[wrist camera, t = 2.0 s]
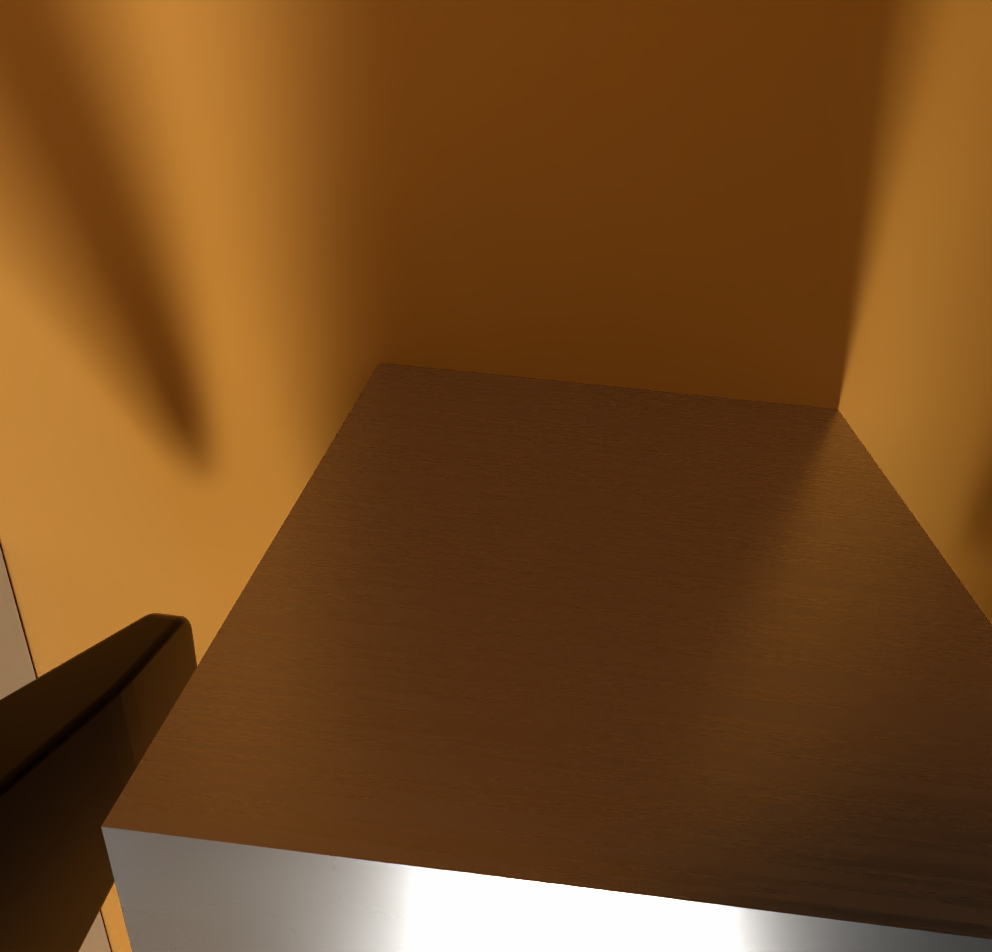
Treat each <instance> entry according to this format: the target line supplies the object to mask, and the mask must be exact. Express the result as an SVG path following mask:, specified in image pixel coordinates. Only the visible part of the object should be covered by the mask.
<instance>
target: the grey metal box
mask: <svg viewBox="0 0 992 952" xmlns="http://www.w3.org/2000/svg"><path fill="white" fill-rule="evenodd" d="M101 828H102V832H103V836H104V840H105V844H106V848H107V852H108V856H109V860H110V864H111V868H112V872H113V876H114V880H115V884H116V888H117V892H118V896H119V900H120V904H121V908H122V912H123V916H124V920H125V924H126V928H127V932H128V936H129V940H130V944H131V948H132V952H992V625H991V624H990V622H989V621H988V619H987V618H986V617H985V615H984V614H983V612H982V611H981V610H980V608H979V607H978V605H977V604H976V603H975V601H974V600H973V598H972V597H971V596H970V594H969V593H968V591H967V590H966V589H965V587H964V586H963V584H962V583H961V582H960V580H959V579H958V577H957V576H956V574H955V573H954V572H953V570H952V569H951V567H950V566H949V565H948V563H947V562H946V560H945V559H944V558H943V556H942V555H941V553H940V552H939V551H938V549H937V548H936V546H935V545H934V544H933V542H932V541H931V539H930V538H929V537H928V535H927V534H926V532H925V531H924V530H923V528H922V527H921V525H920V524H919V523H918V521H917V520H916V518H915V517H914V516H913V514H912V513H911V511H910V510H909V509H908V507H907V506H906V504H905V503H904V502H903V500H902V499H901V497H900V496H899V495H898V493H897V492H896V490H895V489H894V487H893V486H892V485H891V483H890V482H889V480H888V479H887V478H886V476H885V475H884V473H883V472H882V471H881V469H880V468H879V466H878V465H877V464H876V462H875V461H874V459H873V458H872V457H871V455H870V454H869V452H868V451H867V450H866V448H865V447H864V445H863V444H862V443H861V441H860V440H859V438H858V437H857V436H856V434H855V433H854V431H853V430H852V429H851V427H850V426H849V424H848V423H847V422H846V420H845V419H844V417H843V416H842V415H841V413H840V412H839V410H836V409H826V408H817V407H807V406H797V405H787V404H777V403H767V402H758V401H748V400H738V399H728V398H718V397H709V396H699V395H689V394H679V393H669V392H659V391H650V390H640V389H630V388H620V387H610V386H600V385H591V384H581V383H571V382H561V381H551V380H541V379H532V378H522V377H512V376H502V375H492V374H483V373H473V372H463V371H453V370H443V369H433V368H424V367H414V366H404V365H394V364H384V363H379V365H378V367H377V368H376V370H375V372H374V373H373V375H372V377H371V378H370V380H369V382H368V383H367V385H366V387H365V388H364V390H363V392H362V393H361V395H360V397H359V398H358V400H357V402H356V403H355V405H354V407H353V408H352V410H351V412H350V413H349V415H348V417H347V418H346V420H345V422H344V423H343V425H342V427H341V428H340V430H339V432H338V433H337V435H336V437H335V438H334V440H333V442H332V443H331V445H330V447H329V448H328V450H327V452H326V453H325V455H324V457H323V458H322V460H321V462H320V463H319V465H318V467H317V468H316V470H315V472H314V473H313V475H312V477H311V478H310V480H309V482H308V483H307V485H306V487H305V488H304V490H303V492H302V493H301V495H300V497H299V498H298V500H297V502H296V503H295V505H294V507H293V508H292V510H291V511H290V513H289V515H288V516H287V518H286V520H285V521H284V523H283V525H282V526H281V528H280V530H279V531H278V533H277V535H276V536H275V538H274V540H273V541H272V543H271V545H270V546H269V548H268V550H267V551H266V553H265V555H264V556H263V558H262V560H261V561H260V563H259V565H258V566H257V568H256V570H255V571H254V573H253V575H252V576H251V578H250V580H249V581H248V583H247V585H246V586H245V588H244V590H243V591H242V593H241V595H240V596H239V598H238V600H237V601H236V603H235V605H234V606H233V608H232V610H231V611H230V613H229V615H228V616H227V618H226V620H225V621H224V623H223V625H222V626H221V628H220V630H219V631H218V633H217V635H216V636H215V638H214V640H213V641H212V643H211V645H210V646H209V648H208V650H207V651H206V653H205V655H204V656H203V658H202V660H201V661H200V663H199V665H198V666H197V668H196V670H195V671H194V673H193V675H192V676H191V678H190V680H189V681H188V683H187V685H186V686H185V688H184V690H183V691H182V693H181V695H180V696H179V698H178V700H177V701H176V703H175V705H174V706H173V708H172V710H171V711H170V713H169V715H168V716H167V718H166V720H165V721H164V723H163V725H162V726H161V728H160V730H159V731H158V733H157V735H156V736H155V738H154V739H153V741H152V743H151V744H150V746H149V748H148V749H147V751H146V753H145V754H144V756H143V758H142V759H141V761H140V763H139V764H138V766H137V768H136V769H135V771H134V773H133V774H132V776H131V778H130V779H129V781H128V783H127V784H126V786H125V788H124V789H123V791H122V793H121V794H120V796H119V798H118V799H117V801H116V803H115V804H114V806H113V808H112V809H111V811H110V813H109V814H108V816H107V818H106V819H105V821H104V823H103V824H102V826H101Z"/></svg>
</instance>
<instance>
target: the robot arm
mask: <svg viewBox="0 0 992 952" xmlns="http://www.w3.org/2000/svg"><path fill="white" fill-rule="evenodd" d="M196 668H197V662H196V655H195V648H194V641H193V634H192V628H191V624H190V622H189V620H188V619H187V618H185V617H183V616H176V615H168V614H159V613H152V614H149V615H146V616H144V617H142V618H141V619H139V620H137V621H136V622H134V623H132V624H130V625H129V626H127V627H125V628H123V629H122V630H120V631H118V632H116V633H115V634H113V635H111V636H110V637H108V638H106V639H104V640H103V641H101V642H99V643H97V644H96V645H94V646H92V647H91V648H89V649H87V650H85V651H84V652H82V653H80V654H78V655H77V656H75V657H73V658H71V659H70V660H68V661H66V662H65V663H63V664H61V665H59V666H58V667H56V668H54V669H52V670H51V671H49V672H47V673H46V674H44V675H42V676H40V677H39V678H37V679H35V680H33V681H32V682H30V683H28V684H26V685H25V686H23V687H21V688H20V689H18V690H16V691H14V692H13V693H11V694H9V695H7V696H6V697H4V698H2V699H1V700H0V952H79V950H80V948H81V946H82V944H83V942H84V940H85V938H86V936H87V934H88V933H89V931H90V929H91V927H92V925H93V923H94V921H95V919H96V917H97V915H98V913H99V911H100V909H101V907H102V905H103V903H104V901H105V899H106V897H107V895H108V893H109V891H110V890H111V888H112V886H113V884H114V882H115V880H114V876H113V872H112V868H111V864H110V860H109V856H108V852H107V848H106V844H105V840H104V836H103V832H102V828H101V826H102V824H103V823H104V821H105V819H106V818H107V816H108V814H109V813H110V811H111V809H112V808H113V806H114V804H115V803H116V801H117V799H118V798H119V796H120V794H121V793H122V791H123V789H124V788H125V786H126V784H127V783H128V781H129V779H130V778H131V776H132V774H133V773H134V771H135V769H136V768H137V766H138V764H139V763H140V761H141V759H142V758H143V756H144V754H145V753H146V751H147V749H148V748H149V746H150V744H151V743H152V741H153V739H154V738H155V736H156V735H157V733H158V731H159V730H160V728H161V726H162V725H163V723H164V721H165V720H166V718H167V716H168V715H169V713H170V711H171V710H172V708H173V706H174V705H175V703H176V701H177V700H178V698H179V696H180V695H181V693H182V691H183V690H184V688H185V686H186V685H187V683H188V681H189V680H190V678H191V676H192V675H193V673H194V671H195V670H196Z"/></svg>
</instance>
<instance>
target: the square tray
mask: <svg viewBox="0 0 992 952" xmlns="http://www.w3.org/2000/svg"><path fill="white" fill-rule="evenodd" d="M35 679H36V677H35V673H34V669H33V666H32V662H31V658H30V655H29V651H28V647H27V644H26V640H25V636H24V633H23V629H22V625H21V622H20V618H19V614H18V611H17V607H16V604H15V600H14V596H13V593H12V589H11V585H10V582H9V578H8V574H7V571H6V567H5V563H4V560H3V556H2V552H1V549H0V700H1V699H2V698H4V697H6V696H7V695H9V694H11V693H13V692H14V691H16V690H18V689H20V688H21V687H23V686H25V685H26V684H28V683H30V682H32V681H33V680H35ZM79 952H111V950H110V947H109V943H108V939H107V936H106V932H105V928H104V925H103V921H102V917H101V914H100V911H99V913H98V915H97V917H96V919H95V921H94V923H93V925H92V927H91V929H90V931H89V933H88V934H87V936H86V938H85V940H84V942H83V944H82V946H81V948H80V950H79Z"/></svg>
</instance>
